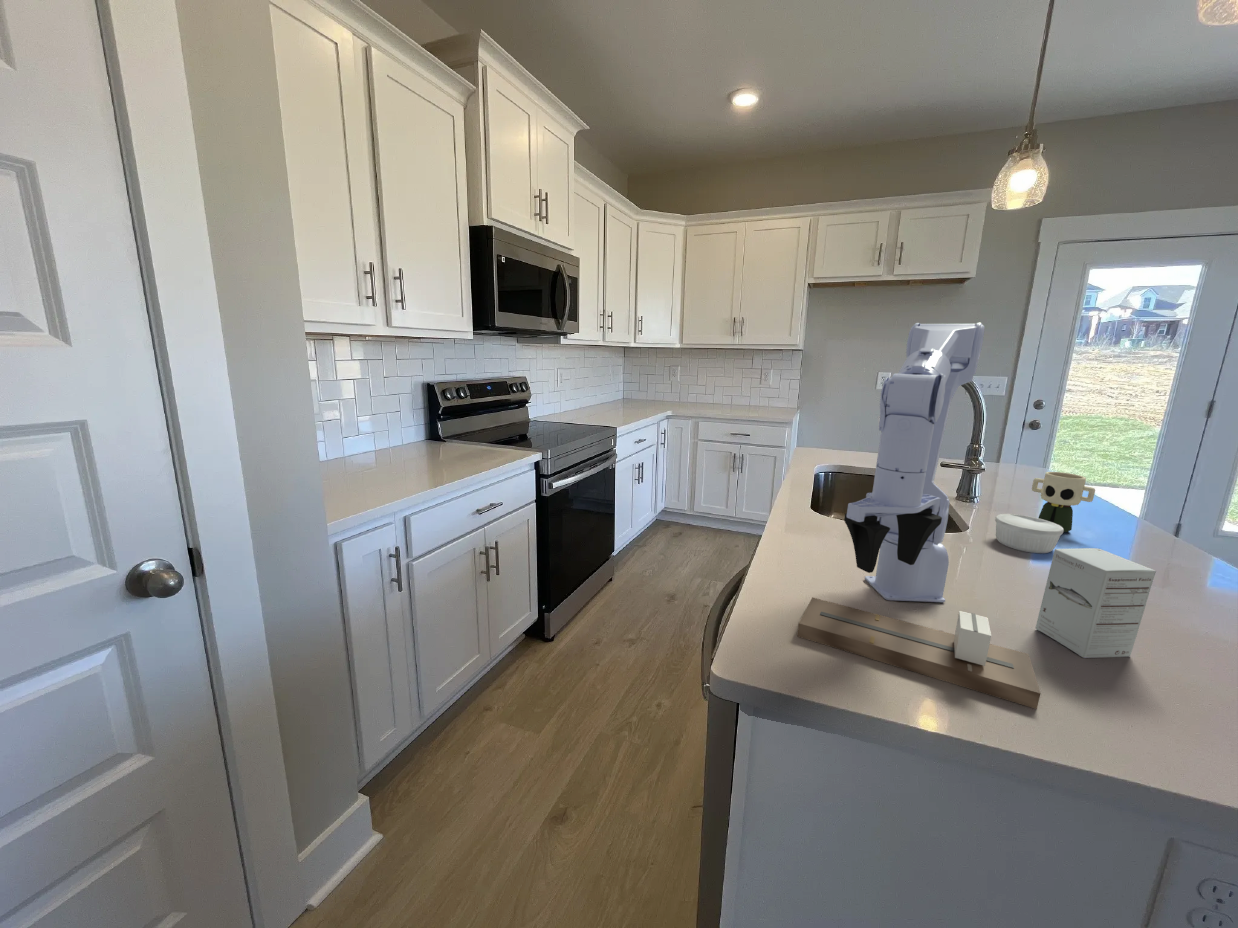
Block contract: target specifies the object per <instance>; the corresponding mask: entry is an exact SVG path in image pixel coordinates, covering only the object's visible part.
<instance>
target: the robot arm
mask: <svg viewBox="0 0 1238 928" xmlns="http://www.w3.org/2000/svg"><path fill="white" fill-rule="evenodd" d="M985 327H986V326H985V325H984V324H983V323H982V322H976V323H920V322H916V323H914V324H913V325H912V326H911V327H910V328H909V329H910V330H909V333H908V336H907V341H906V352H905V353H906V355H905V356H906V359H905V360H904V362H903V364H902V365H901V366H900V368H899V370H898V372H897V373H896V372H895V373H893V375H892V376H891V377H889V376H887V377H885V379H884V381H883V385H882V387H881V392H880V395H879V397H880V398H879V423H878V431H879V432H881V433H880V437H879V445H878V452H877V457H876V465H875V472H874V479H873V487H872V492H867V493H866V495H865V498H862V499H860V500H857V501H854V502H849V503H848V504H847V510H846V513H844V518H843V519H844V520H843V521H844V524H845V525H846V527H847V529H848V531H849V534H850V537H851V540H852V545H853V549H854V550H853V551H854V554H855V555H854V556H855V562H856V568H857V569H859V570H862V571H864V572H866V573H868V574H870V573H874V571H875V568H876V571H875V576H874V575H873V576H872V575H866V576H864V580H865V581H866V582H867V583H868V584H869V585H870V586H871V587H872V588H873V589H874V590H875V591H876V592H877V593H878V594H879V595H880V596H882V597H881V598H883V599H884V600H887V601H903V602H904V601H905V602H927V603H930V602H931V603H945V602H946V598H944V593H945V586H946V581H947V574H948V570H949V565H950V564H949V563H950V560H949V558H950V557H949V554H948V551H947V548H946V547H945V545H944V544H943V541H944V539H945V533H946V529H947V524H948V520H949V511H950V498H949V495H947V494H946V492H944V491H943V490H942V489H941V488H940V487H939V486H937V484H936V483H935V477H936V472H937V468H938V464H939V460H940V454H941V450H942V445H943V440H944V436H945V432H946V426H947V422H948V419H949V418H948V416H949V413H950V408H951V403H952V400H953V398H954V396H955V395H956V392H957V391H958V388H959V387H961V386H963V385H965V384H968V383H970V382H973V378H974V376H975V375H976V373H977V369H978V365H979V361H980V356H981V353H982V348H983V342H984V336H985ZM876 565H877V566H876Z"/></svg>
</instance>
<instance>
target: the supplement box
mask: <svg viewBox="0 0 1238 928" xmlns="http://www.w3.org/2000/svg"><path fill="white" fill-rule="evenodd" d="M1048 572H1049V573H1048V576H1047V581H1046V584H1045V588H1044V592H1043V596H1042V600H1041V604H1040V608H1039V613H1038V616H1037V621H1036V624H1035V630H1036V631H1039V632H1041V633H1043V634H1045V635H1046V636H1048V637H1049V638H1051V639H1053V640H1054V641H1056V642H1058V643H1059V644H1061V645H1062V646H1064V647H1066V648H1067V649H1069V650H1071V651H1072V652H1074V653H1075V654H1077V656H1079V657H1081V658H1082V659H1087V658H1088V659H1090V658H1091V659H1094V658H1095V659H1096V658H1097V659H1098V658H1101V659H1103V658H1123V657H1125V658H1126V657H1127V658H1128V657H1131V655H1132V651H1133V649H1134V646H1135V643H1136V639H1137V637H1138V636H1137V635H1138V633H1139V630H1140V625H1141V622H1142V619H1143V615H1144V612H1145V609H1146V606H1147V602H1148V598H1149V596H1150V592H1151V588H1152V584H1153V582H1154V579H1155V576H1156V574H1157V570H1155V569H1153V568H1150V567H1148V566H1144V565H1142V564H1140V563H1137V562H1134V561H1132V560H1129V559H1127V558H1124V557H1123V556H1119V555H1116V554H1115V553H1112V552H1109V551H1107V550H1103V549H1101V548H1097V547H1096V548H1093V547H1090V548H1089V547H1087V548H1086V547H1085V548H1083V547H1082V548H1054V549H1053V555H1052V560H1051V564H1050V568H1049V571H1048Z"/></svg>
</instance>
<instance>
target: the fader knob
mask: <svg viewBox="0 0 1238 928" xmlns="http://www.w3.org/2000/svg"><path fill="white" fill-rule="evenodd" d="M957 615H958V616H957V621H956V626H955V632H954V650H955V658H958V659H962V660H965V661H969V662H972V663H976V664H979V665H983V666H985V663H986V659H987V654H988V649H989V645H990V644H991V639H992V632H991V626H990V622H989V618H988V617H986V616H982V615H979V614H976V613H974V612H966V611H963V610H959V611H958V614H957Z"/></svg>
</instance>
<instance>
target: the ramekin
mask: <svg viewBox="0 0 1238 928" xmlns="http://www.w3.org/2000/svg"><path fill="white" fill-rule="evenodd" d="M994 521H995V537H996V539H997V541H998V542H999V543H1000V544H1002V545H1003V546H1005V547H1008V548H1010V549H1014V550H1018V551H1021V552H1027V553H1033V554H1048V553H1051V552H1052V551H1054V550H1055V549H1056V545H1057V544H1058V542H1059V539H1060V537H1061V535H1063V533H1064V532H1063V531H1064V529H1063V528H1062V527H1061V526H1060V525H1058V524H1055V523H1052V522H1050V521H1046V520H1043V519H1039V518H1038V517H1034V516H1030V515H1022V514H1014V513H1000V514H997V515H996V516H995V519H994Z"/></svg>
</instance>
